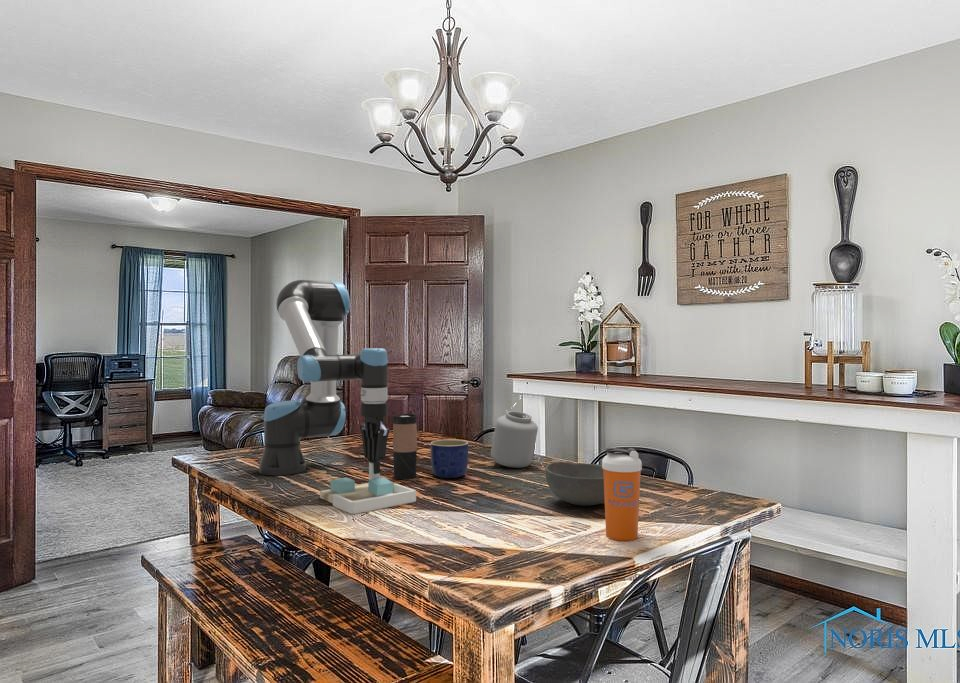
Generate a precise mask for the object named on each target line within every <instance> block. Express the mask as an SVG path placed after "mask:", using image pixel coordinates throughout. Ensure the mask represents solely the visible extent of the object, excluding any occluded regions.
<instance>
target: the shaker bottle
mask: <svg viewBox="0 0 960 683" xmlns="http://www.w3.org/2000/svg"><path fill="white" fill-rule="evenodd" d="M604 450H605V451H606V455H605V456H604V457H603V458H602V461H601V465H602V469H603V478H604V500H605V502H604V516H605V517H604V519H605V535H606V537H607V538H609V539H611V540H614V541H618V542H619V541H623V542H628V541H634V540H636V539H638V535H639V534H638V533H639V516H640V515H639V512H640V510H639V508H640V495H641V476H642V475H641V472H642V470H643V463H642V460H641V458H639V452H637V450H636V449H635V448H633V447H630V448H627V449H626V448H625V449H624V448H618V447H617V448H616V447H608V448H605V449H604Z"/></svg>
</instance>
